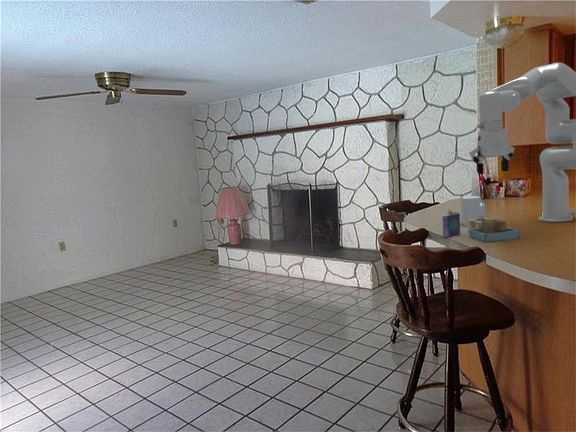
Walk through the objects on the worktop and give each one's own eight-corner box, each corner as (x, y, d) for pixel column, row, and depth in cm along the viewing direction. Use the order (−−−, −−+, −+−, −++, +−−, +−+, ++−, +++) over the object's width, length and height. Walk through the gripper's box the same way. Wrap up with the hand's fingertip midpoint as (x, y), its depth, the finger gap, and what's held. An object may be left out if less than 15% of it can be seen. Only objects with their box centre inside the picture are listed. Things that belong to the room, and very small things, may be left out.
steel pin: (483, 231, 174) (482, 202, 172) (487, 232, 171) (486, 203, 170) (477, 231, 174) (476, 203, 172) (481, 232, 171) (480, 203, 170)
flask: (446, 238, 167) (445, 211, 166) (440, 237, 170) (439, 211, 169) (461, 234, 172) (460, 208, 171) (455, 233, 175) (454, 208, 173)
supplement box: (482, 225, 186) (481, 197, 184) (464, 226, 187) (463, 198, 185) (478, 222, 193) (477, 195, 191) (461, 223, 194) (460, 196, 192)
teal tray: (501, 233, 167) (500, 226, 166) (519, 238, 156) (519, 230, 155) (469, 237, 166) (469, 229, 165) (485, 242, 154) (485, 234, 154)
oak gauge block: (485, 229, 177) (485, 217, 176) (497, 232, 169) (496, 220, 168) (467, 231, 176) (467, 219, 176) (478, 234, 168) (478, 222, 168)
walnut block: (497, 234, 164) (496, 218, 163) (506, 236, 158) (506, 220, 157) (482, 235, 163) (482, 220, 162) (491, 238, 157) (490, 222, 157)
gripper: (474, 128, 150) (476, 175, 153) (519, 123, 152) (520, 170, 154) (463, 129, 158) (465, 174, 160) (506, 124, 159) (508, 169, 162)
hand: (492, 172), depth 157 cm, fingers open, 9 cm apart
